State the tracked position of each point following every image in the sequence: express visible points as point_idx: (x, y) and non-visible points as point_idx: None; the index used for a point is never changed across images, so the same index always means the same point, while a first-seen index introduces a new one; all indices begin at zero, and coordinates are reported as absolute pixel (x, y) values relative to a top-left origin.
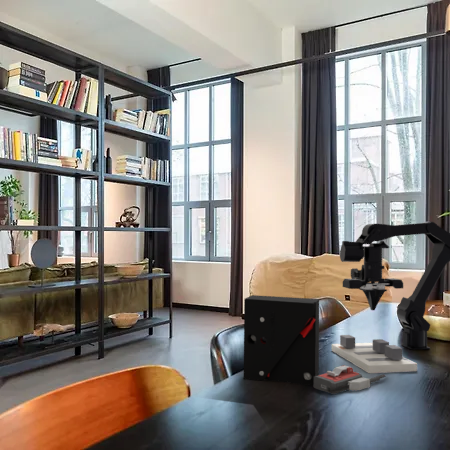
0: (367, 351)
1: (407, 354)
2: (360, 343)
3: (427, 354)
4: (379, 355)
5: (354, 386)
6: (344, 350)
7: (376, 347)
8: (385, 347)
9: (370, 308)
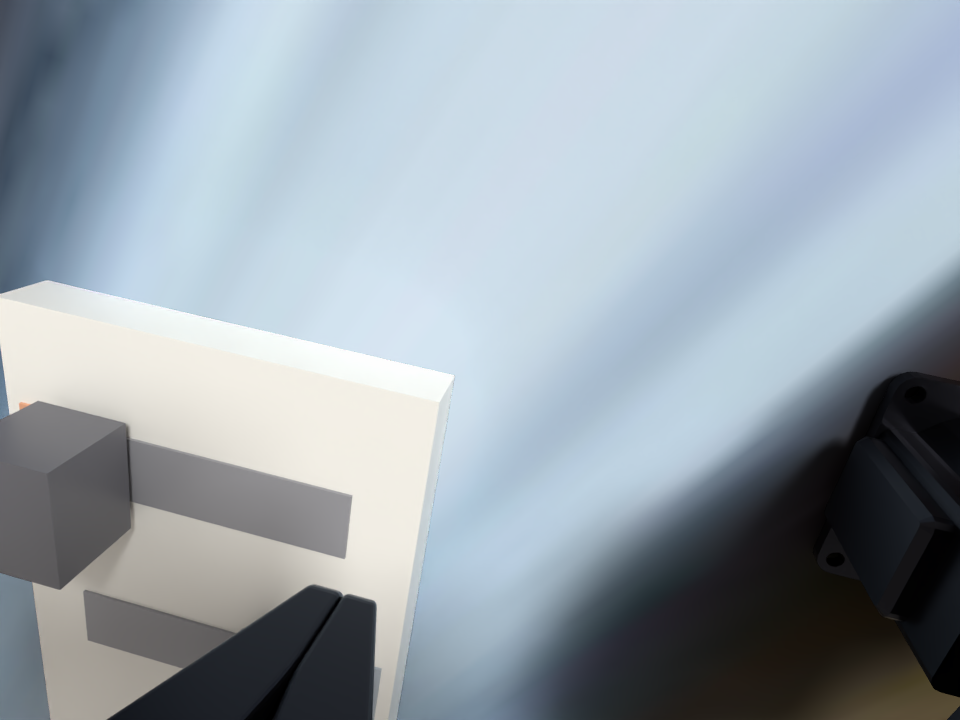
0: (202, 610)
1: (629, 622)
2: (287, 382)
3: (806, 689)
4: None
5: None
6: None
7: None
8: None
9: (288, 603)
